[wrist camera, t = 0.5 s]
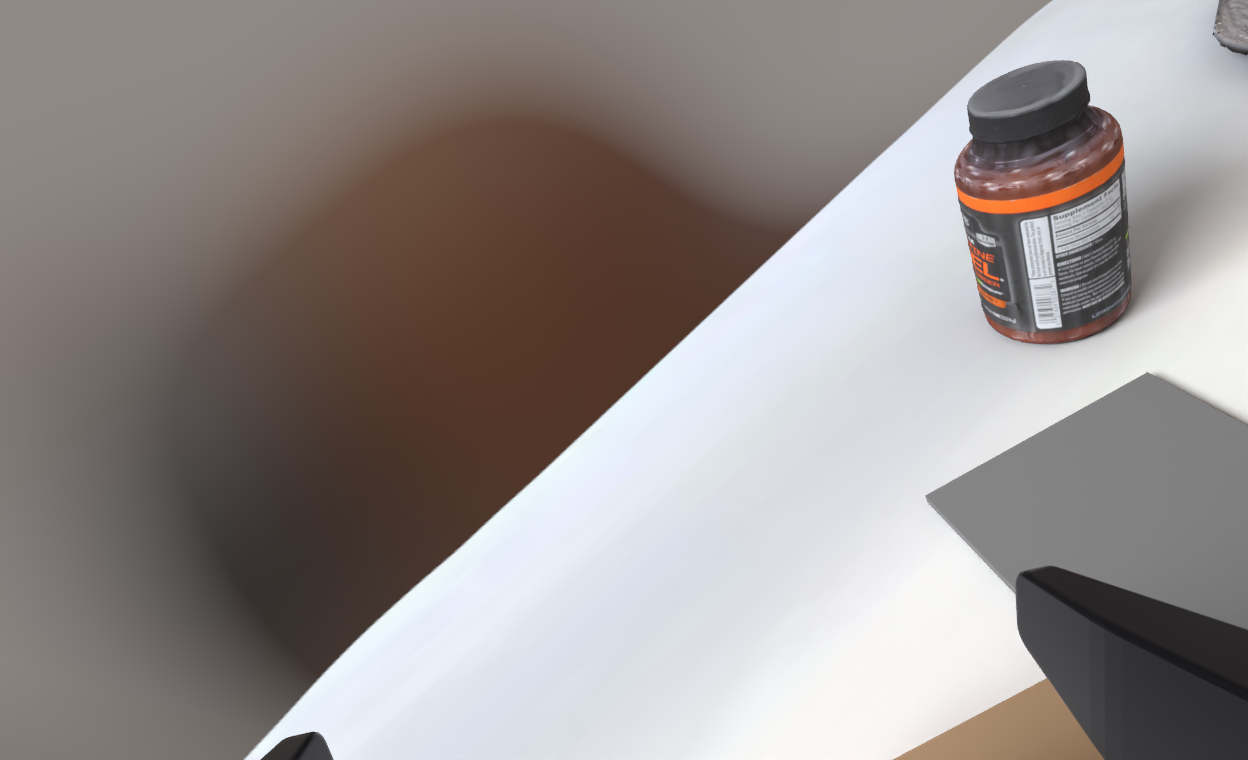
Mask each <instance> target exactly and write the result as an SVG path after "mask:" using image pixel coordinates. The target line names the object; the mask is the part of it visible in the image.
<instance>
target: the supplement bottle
mask: <svg viewBox="0 0 1248 760" xmlns="http://www.w3.org/2000/svg"><path fill="white" fill-rule="evenodd" d="M1089 102H1090V93H1089V91H1088V87H1087V77H1086V71H1085V68H1084V67H1083V66H1082V65H1081V64H1080V63H1078V62H1073V61H1065V60H1062V61H1047V62H1042V63H1036V64H1032V65H1028V66H1025V67H1022V68H1019V69H1016V70H1013V71H1011V72H1008V73H1007V74H1004V75H1002V76H1000V77H998V78H996V79H994V80H992V81H990V82H988V83H987V84H985V85H984V86H983V87H981V88H980V89H979V90H977V91H976V92H975V93H974V94H973V95H972V97H971V98H970V100H969V102H968V105H967V109H968V116H969V123H970V127H969V130H970V133H971V134H972V135H973V139H972V140H971V141H970V142H969V143H968V144H967V145H966V147H965V148H964V149H963V151H962V152H961V153H960V155H959V156H958V159H957V161H956V165H955V171H954V174H955V182H956V187H957V192H958V200H959V204H960V207H961V212H962V216H963V221H964V227H965V230H966V234H967V239H968V245H969V249H970V253H971V257H972V263H973V269H974V272H975V276H976V280H977V287H978V291H979V295H980V299H981V303H982V304H981V305H982V308H983V311H984V313H985V316H986V318H987V321H988V323H989V324H990V325H991V326H992V327H993V328H994V329H995V330H996V331H998V332H999V333H1001V334H1002V335H1004V336H1006V337H1009V338H1011V339H1013V340H1017V341H1021V342H1025V343H1035V344H1053V343H1062V342H1069V341H1074V340H1079V339H1081V338H1084V337H1087V336H1089V335H1092V334H1094V333H1097V332H1100V331H1101V330H1102V329H1104V328H1106V327H1107V326H1109V325H1111V324H1112V323H1113V322H1115V321H1116V320H1117V319H1118V318H1119V317H1120V316H1121V315H1122V314H1123V313H1124V311H1125V309H1126V307H1127V305H1128V303H1129V300H1130V296H1131V270H1130V251H1129V232H1128V212H1127V197H1126V178H1125V159H1124V147H1123V137H1122V132H1121V128H1120V125H1119V123H1118V122H1117V120H1116V119H1115V118H1114V117H1113V116H1112V115H1111V114H1109V113H1108V112H1106V111H1104V110H1102V109H1100V108H1097V107H1094V106H1089V105H1088V103H1089Z"/></svg>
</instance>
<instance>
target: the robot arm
mask: <svg viewBox="0 0 1248 760" xmlns="http://www.w3.org/2000/svg"><path fill="white" fill-rule="evenodd" d="M1015 591H1016V610H1017V626H1018V631H1019V634H1020V637H1021V639H1022V641H1023V643H1024V645H1025V647H1026V648H1027V650H1028V651H1029V653H1030V654H1031V655H1032V657H1033V658H1034V660H1035V661H1036V663H1037V664H1038V666H1039V667H1040V668H1041V670H1042V671H1043V673H1044V674H1045V676H1046V677H1047V679H1048V680H1049V681H1050V683H1051V684H1052V686H1053V687H1054V689H1055V690H1056V692H1057V693H1058V694H1059V696H1060V697H1061V699H1062V700H1063V702H1064V703H1065V705H1066V706H1067V707H1068V709H1069V710H1070V712H1071V713H1072V715H1073V716H1074V718H1075V719H1076V720H1077V722H1078V723H1079V725H1080V726H1081V728H1082V729H1083V731H1084V732H1085V733H1086V735H1087V736H1088V738H1089V739H1090V741H1091V742H1092V743H1093V745H1094V746H1095V747H1096V749H1097V750H1098V752H1099V753H1100V754H1101V756H1102V757H1103V758H1104V760H1248V629H1246V628H1243V627H1240V626H1237V625H1233V624H1230V623H1227V622H1224V621H1221V620H1218V619H1215V618H1212V617H1209V616H1206V615H1203V614H1200V613H1197V612H1194V611H1191V610H1188V609H1185V608H1182V607H1178V606H1175V605H1172V604H1169V603H1166V602H1163V601H1160V600H1157V599H1154V598H1151V597H1148V596H1145V595H1142V594H1139V593H1136V592H1133V591H1130V590H1127V589H1123V588H1120V587H1117V586H1114V585H1111V584H1108V583H1105V582H1102V581H1099V580H1096V579H1093V578H1090V577H1087V576H1084V575H1081V574H1078V573H1075V572H1072V571H1068V570H1065V569H1062V568H1059V567H1056V566H1052V565H1046V566H1041V567H1037V568H1032V569H1028V570H1023V571H1021V572H1020V573H1018V575H1017V576H1016V579H1015ZM261 760H333V757H332V755H331V753H330V750H329V748H328V746H327V743H326V741H325V739H324V737H323V736H322V735H321V734H320V733H318V732H309V733H305V734H300V735H296V736H291V737H288V738H286V739H284V740H282V741H281V742H280V743H279V744H277V745H276V746H275V747H274V748H273V749H272V750H271V751H270V752H269V753H267V754H266V755H265V756H264V757H263V758H262V759H261Z"/></svg>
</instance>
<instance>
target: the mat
mask: <svg viewBox="0 0 1248 760" xmlns="http://www.w3.org/2000/svg"><path fill="white" fill-rule="evenodd" d="M926 499H927V502H928V503H929V504H930V505H931V506H932V507H933V508H934V509H935V510H936V511H937V512H938V513H939V515H940V516H941V517H942V518H943V519H944V520H945V521H946V522H947V523H948V524H949V525H950V526H951V527H952V528H953V529H954V530H955V531H956V532H957V533H958V534H959V535H960V536H961V538H962V539H963V540H964V541H965V542H966V543H967V544H968V545H969V546H970V547H971V548H972V549H973V550H974V551H975V552H976V553H977V554H978V555H979V556H980V557H981V558H982V560H983V561H984V562H985V563H986V564H987V565H988V566H989V567H990V568H991V569H992V570H993V571H994V572H995V573H996V574H997V575H998V576H999V577H1000V578H1001V579H1002V580H1003V582H1004V583H1005V584H1006V585H1007V586H1008V587H1009V588H1010V589H1011V590H1012V591H1013V592H1014V593H1015V594H1016V591H1015V579H1016V576H1017V575H1018V573H1020V572H1021V571H1023V570H1028V569H1032V568H1037V567H1041V566H1046V565H1052V566H1056V567H1059V568H1062V569H1065V570H1068V571H1072V572H1075V573H1078V574H1081V575H1084V576H1087V577H1090V578H1093V579H1096V580H1099V581H1102V582H1105V583H1108V584H1111V585H1114V586H1117V587H1120V588H1123V589H1127V590H1130V591H1133V592H1136V593H1139V594H1142V595H1145V596H1148V597H1151V598H1154V599H1157V600H1160V601H1163V602H1166V603H1169V604H1172V605H1175V606H1178V607H1182V608H1185V609H1188V610H1191V611H1194V612H1197V613H1200V614H1203V615H1206V616H1209V617H1212V618H1215V619H1218V620H1221V621H1224V622H1227V623H1230V624H1233V625H1237V626H1240V627H1243V628H1246V629H1248V425H1246V424H1244V423H1242V422H1240V421H1238V420H1236V419H1234V418H1233V417H1231V416H1229V415H1227V414H1225V413H1223V412H1221V411H1219V410H1217V409H1216V408H1214V407H1212V406H1210V405H1208V404H1206V403H1204V402H1202V401H1200V400H1199V399H1197V398H1195V397H1193V396H1191V395H1189V394H1187V393H1185V392H1183V391H1182V390H1180V389H1178V388H1176V387H1174V386H1172V385H1170V384H1168V383H1167V382H1165V381H1163V380H1161V379H1159V378H1157V377H1155V376H1153V375H1151V374H1150V373H1148V372H1147V373H1145V374H1144V375H1142V376H1140V377H1138V378H1136V379H1135V380H1133V381H1131V382H1129V383H1127V384H1126V385H1124V386H1122V387H1120V388H1118V389H1117V390H1115V391H1113V392H1111V393H1109V394H1108V395H1106V396H1104V397H1102V398H1100V399H1099V400H1097V401H1095V402H1093V403H1091V404H1090V405H1088V406H1086V407H1084V408H1082V409H1081V410H1079V411H1077V412H1075V413H1073V414H1072V415H1070V416H1068V417H1066V418H1064V419H1063V420H1061V421H1059V422H1057V423H1055V424H1054V425H1052V426H1050V427H1048V428H1046V429H1045V430H1043V431H1041V432H1039V433H1037V434H1036V435H1034V436H1032V437H1030V438H1028V439H1027V440H1025V441H1023V442H1021V443H1019V444H1018V445H1016V446H1014V447H1012V448H1010V449H1009V450H1007V451H1005V452H1003V453H1001V454H1000V455H998V456H996V457H994V458H992V459H991V460H989V461H987V462H985V463H983V464H982V465H980V466H978V467H976V468H974V469H973V470H971V471H969V472H967V473H965V474H964V475H962V476H960V477H958V478H956V479H955V480H953V481H951V482H949V483H947V484H946V485H944V486H942V487H940V488H938V489H937V490H935V491H933V492H931V493H929V494H928V495H926Z"/></svg>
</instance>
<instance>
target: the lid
mask: <svg viewBox="0 0 1248 760" xmlns="http://www.w3.org/2000/svg"><path fill="white" fill-rule="evenodd" d="M893 760H1104V758H1103V757H1102V756H1101V754H1100V753H1099V752H1098V750H1097V749H1096V747H1095V746H1094V745H1093V743H1092V742H1091V741H1090V739H1089V738H1088V736H1087V735H1086V733H1085V732H1084V731H1083V729H1082V728H1081V726H1080V725H1079V723H1078V722H1077V720H1076V719H1075V718H1074V716H1073V715H1072V713H1071V712H1070V710H1069V709H1068V707H1067V706H1066V705H1065V703H1064V702H1063V700H1062V699H1061V697H1060V696H1059V694H1058V693H1057V692H1056V690H1055V689H1054V687H1053V686H1052V684H1051V683H1050V681H1049V680H1048V679H1045V680H1043V681H1041V682H1039V683H1037V684H1035V685H1033V686H1031V687H1030V688H1028V689H1026V690H1024V691H1022V692H1020V693H1018V694H1016V695H1014V696H1013V697H1011V698H1009V699H1007V700H1005V701H1003V702H1001V703H999V704H997V705H996V706H994V707H992V708H990V709H988V710H986V711H984V712H982V713H980V714H979V715H977V716H975V717H973V718H971V719H969V720H967V721H965V722H963V723H961V724H960V725H958V726H956V727H954V728H952V729H950V730H948V731H946V732H944V733H943V734H941V735H939V736H937V737H935V738H933V739H931V740H929V741H927V742H926V743H924V744H922V745H920V746H918V747H916V748H914V749H912V750H910V751H908V752H907V753H905V754H903V755H901V756H899V757H897V758H895V759H893Z"/></svg>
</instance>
